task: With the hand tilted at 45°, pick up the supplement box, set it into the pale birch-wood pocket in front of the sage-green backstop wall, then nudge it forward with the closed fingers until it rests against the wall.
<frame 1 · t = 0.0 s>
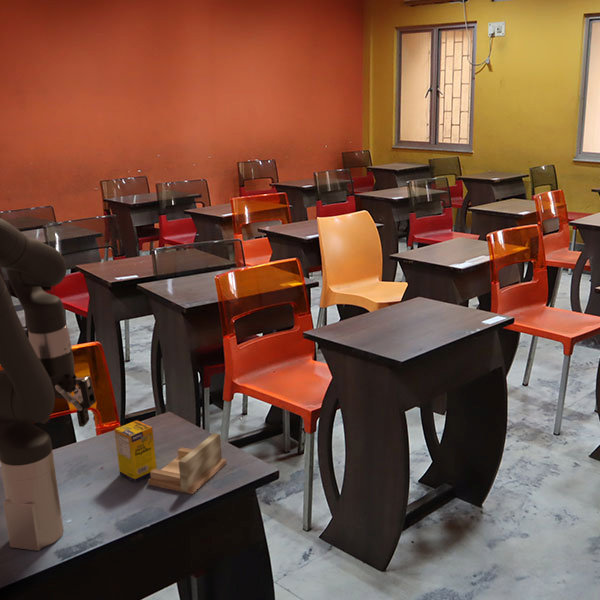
hand: (64, 423, 152), 17 cm above the table, tool pointing down, fingers open, 8 cm apart
supplement box: (138, 474, 167), on the table
backstop pocket: (184, 472, 166), on the table
pen: (134, 443, 182), on the table
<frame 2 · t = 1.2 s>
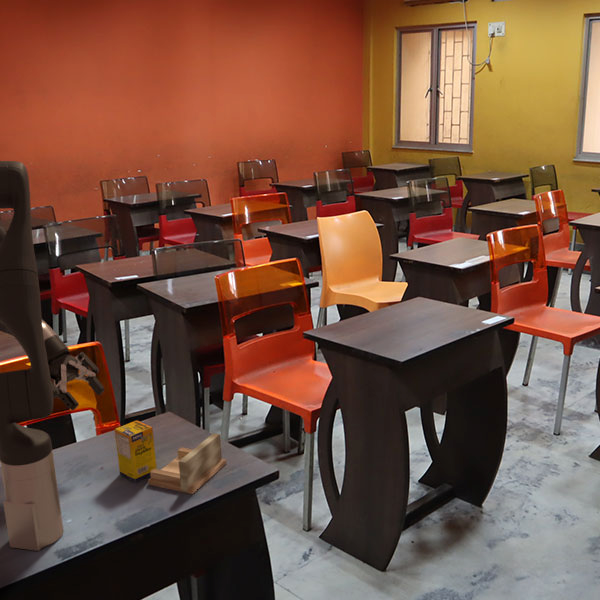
hand: (89, 400, 167), 16 cm above the table, tool tilted 45°, fingers open, 8 cm apart
nothing on the table moved.
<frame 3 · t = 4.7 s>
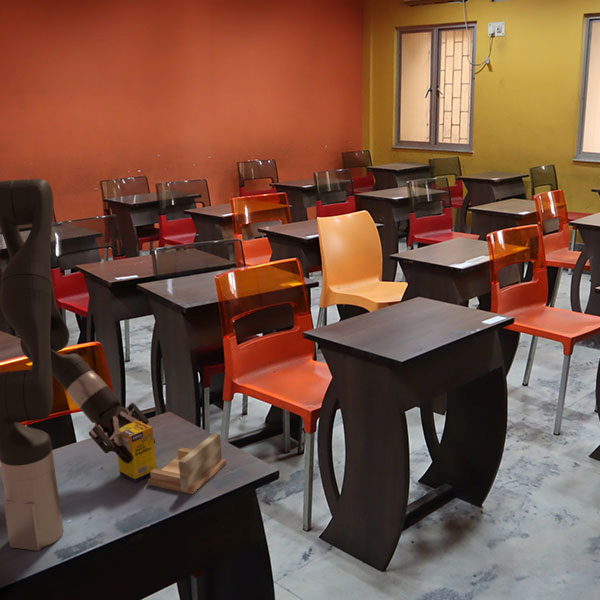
hand: (141, 453, 164), 5 cm above the table, tool tilted 45°, fingers closed on supplement box, 7 cm apart
supplement box: (138, 474, 167), on the table, touching gripper
everything else where it was.
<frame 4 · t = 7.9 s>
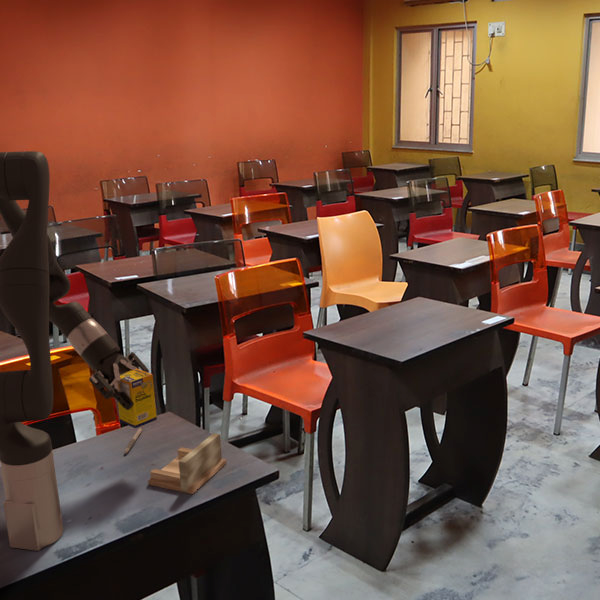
hand: (141, 400, 165), 16 cm above the table, tool tilted 45°, fingers closed on supplement box, 7 cm apart
supplement box: (138, 421, 167), point 10 cm above the table, touching gripper
everything else where it was.
when the fingers open (7 cm above the table, at t = 10.9 s): supplement box drops 1 cm, resting on backstop pocket.
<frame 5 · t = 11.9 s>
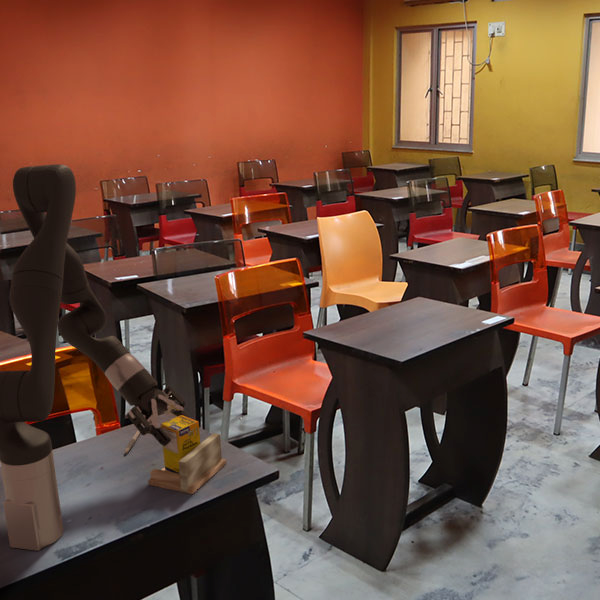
hand: (179, 435, 163), 9 cm above the table, tool tilted 45°, fingers open, 8 cm apart
supplement box: (183, 468, 166), point 1 cm above the table, touching backstop pocket, gripper
everything else where it was.
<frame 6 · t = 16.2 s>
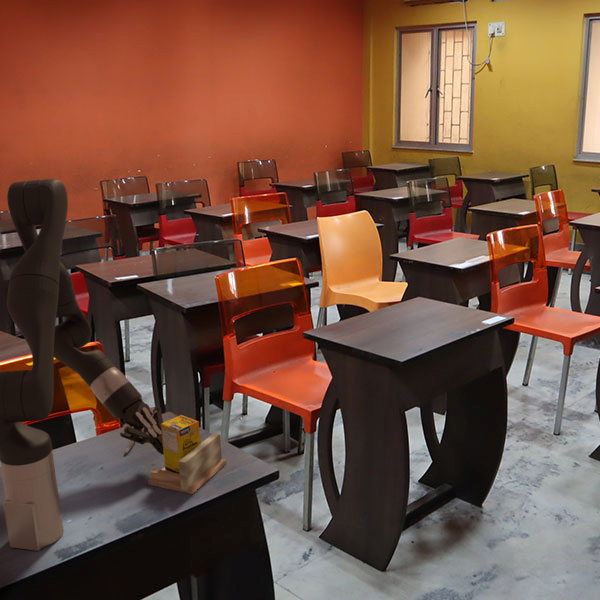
hand: (166, 451, 166), 4 cm above the table, tool tilted 45°, fingers closed
supplement box: (184, 468, 166), point 1 cm above the table, touching gripper
everything else where it was.
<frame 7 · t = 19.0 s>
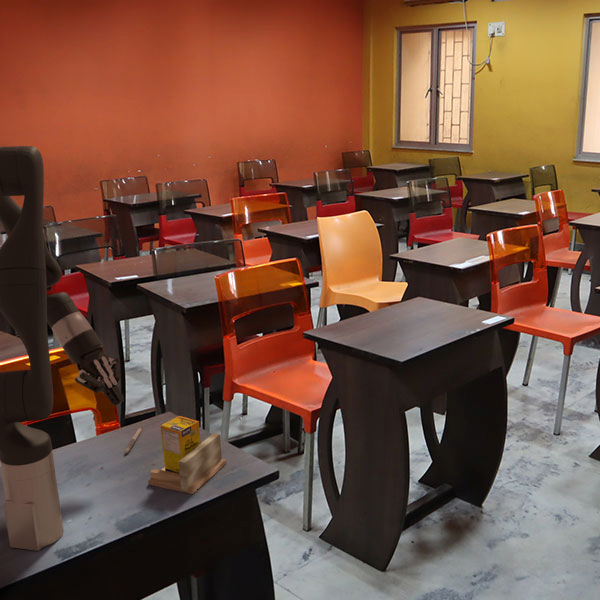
hand: (119, 403, 165), 15 cm above the table, tool tilted 40°, fingers closed
supplement box: (184, 469, 166), point 1 cm above the table, touching backstop pocket
everything else where it was.
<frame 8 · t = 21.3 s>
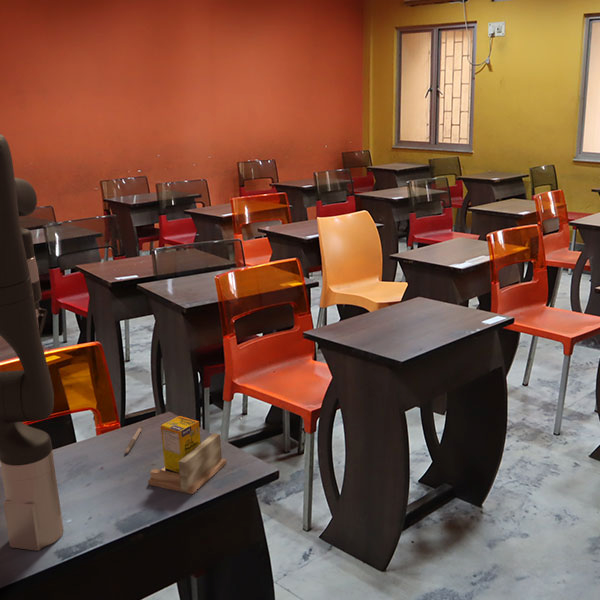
hand: (31, 358, 160), 27 cm above the table, tool pointing down, fingers closed
nothing on the table moved.
at the end: supplement box 0.6 cm from the target spot, point 0.8 cm above the table; supplement box tilted 0°; the gripper is holding nothing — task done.
